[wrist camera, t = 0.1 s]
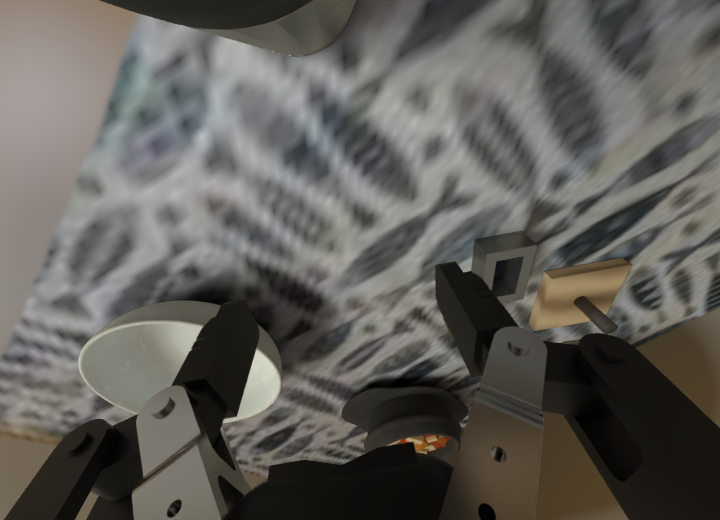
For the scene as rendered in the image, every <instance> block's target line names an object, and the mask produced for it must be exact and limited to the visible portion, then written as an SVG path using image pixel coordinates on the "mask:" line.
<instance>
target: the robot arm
mask: <svg viewBox="0 0 720 520" xmlns="http://www.w3.org/2000/svg"><path fill="white" fill-rule="evenodd" d="M100 1H103V2H106V3H109V4H112V5H115V6H118V7H121V8H124V9H126V10H129V11H133V12H136V13H139V14H143V15H146V16H150V17H153V18H157V19H160V20H164V21H167V22H171V23H174V24H179V25H184V26H187V27H190V28H193V29H197V30H200V31H204V32H207V33H211V34H214V35H218V36H221V37H224V38H228V39H232V40H236V41H239V42H242V43H246V44H249V45H252V46H256V47H259V48H262V49H266V50H269V51H272V52H273V53H277V54H280V55H285V56H287V55H288V56H297V57H298V56H308V55H310V54H313V53H316V52H319V51H321V50H322V49H324V48H325V47H327V46H328V45H330V44H331V43H332V42H333V41H334V40H335V39H336V38H337V37H338V36H339V34H340V33H341V32H342V30H343V28H344V27H345V25H346V23H347V22H348V20H349V18H350V15H351V13H352V10H353V8H354V6H355V3H356V1H357V0H100ZM435 279H436V299H437V303H438V306H439V309H440V311H441V313H442V315H443V317H444V319H445V322H446V324H447V326H448V328H449V330H450V332H451V334H452V336H453V339H454V341H455V343H456V345H457V347H458V349H459V351H460V353H461V356H462V358H463V360H464V362H465V364H466V366H467V368H468V370H469V373H470V375H471V377H475V376H482V379H481V383H480V386H479V389H477V391H476V394H475V397H474V400H473V404H472V407H471V411H470V414H469V417H468V421H467V424H466V428H465V431H464V435H463V438H462V441H461V445H460V448H459V452H458V455H457V459H456V462H455V465H454V467H453V466H451V465H450V464H448V463H447V462H445V461H443V460H441V459H439V458H437V457H434V456H432V455H428V454H425V453H419V452H416V450H415V446H414V441H413V442H407V443H401V444H395V445H389V446H383V447H378V448H376V449H374V450H372V451H370V452H368V453H366V454H364V455H362V456H360V457H358V458H355V459H353V460H351V461H349V462H347V463H345V464H342V465H336V464H330V463H323V462H316V461H310V460H301V461H295V462H289V463H283V464H277V465H271V466H270V469H269V475H268V479H266V480H265V481H263V482H261V483H260V484H258V485H257V486H255V487H254V488H253V489H251V487H250V486H249V484H248V483H247V481H246V480H245V478H244V476H243V475H242V472H241V470H240V468H239V465H238V463H237V461H236V458H235V456H234V454H233V451H232V449H231V447H230V444H229V442H228V440H227V437H226V435H225V433H224V431H223V429H222V428H221V426H222V423H223V420H224V419H227V418H232V417H237V414H238V411H239V408H240V404H241V401H242V397H243V394H244V390H245V387H246V383H247V380H248V376H249V373H250V369H251V366H252V362H253V359H254V355H255V352H256V348H257V345H258V342H259V336H260V333H259V327H258V324H257V322H256V321H255V319H254V317H253V315H252V313H251V311H250V309H249V308H248V306H247V304H246V302H245V301H244V300H237V301H232V302H226V303H223V304H222V305H221V307H220V309H219V311H218V313H217V315H216V317H212V318H211V319H210V320H209V321H208V322H207V323H206V324H205V325H204V326H203V327H202V329H201V331H200V333H199V334H198V336H197V338H196V341H195V342H194V344H193V346H192V348H191V351H189V353H188V355H187V357H186V359H185V361H184V363H183V364H182V366H181V368H180V370H179V372H178V374H177V376H176V377H175V379H174V381H173V383H172V385H171V386H170V387H167V388H165V389H163V390H161V391H159V392H158V393H157V394H155V395H154V396H153V397H151V398H150V399H149V400H148V401H147V402H146V403H145V405H144V406H143V407H142V409H141V410H140V412H139V414H137V415H135V416H133V417H131V418H129V419H127V420H124V421H122V422H120V423H118V424H116V425H113V426H112V425H110V424H109V423H108V422H106V421H105V420H103V419H95V420H91V421H89V422H86V423H84V424H83V425H81V426H79V427H78V428H76V429H75V430H73V431H72V432H71V433H69V434H68V435H67V436H66V437H65V438H64V439H63V440H62V441H61V442H60V443H59V444H58V445H57V447H56V448H55V449H54V450H53V452H52V453H51V455H50V456H49V457H48V459H47V460H46V462H45V463H44V464H43V466H42V467H41V469H40V470H39V471H38V473H37V474H36V476H35V477H34V478H33V480H32V481H31V483H30V484H29V485H28V487H27V488H26V490H25V491H24V492H23V494H22V495H21V497H20V498H19V499H18V501H17V502H16V504H15V505H14V506H13V508H12V509H11V511H10V512H9V513H8V515H7V516H6V518H5V519H4V520H75V518H76V516H77V514H78V513H79V511H80V509H81V507H82V505H83V504H84V502H85V500H86V498H87V496H88V494H89V493H90V491H91V492H93V493H95V494H97V495H99V497H98V498H97V500H96V502H95V504H94V506H93V508H92V510H91V512H90V514H89V516H88V518H87V519H86V520H535V512H536V502H537V491H538V480H539V470H540V459H541V449H542V438H543V426H544V417H543V415H541V411H545V412H551V413H557V414H563V415H564V417H565V418H566V420H567V422H568V423H569V425H570V426H571V428H572V429H573V431H574V433H575V434H576V436H577V438H578V439H579V441H580V442H581V444H582V445H583V447H584V449H585V450H586V451H587V453H588V455H589V457H590V458H591V460H592V461H593V463H594V465H595V466H596V468H597V469H598V471H599V473H600V474H601V476H602V477H603V479H604V481H605V482H606V484H607V485H608V487H609V489H610V490H611V492H612V493H613V495H614V497H615V498H616V500H617V501H618V503H619V505H620V506H621V508H622V509H623V511H624V513H625V514H626V516H627V517H628V519H629V520H720V428H719V427H718V426H717V425H716V424H715V423H714V422H713V421H712V420H711V419H710V418H708V417H707V416H706V415H705V414H704V413H703V412H702V411H701V410H700V409H699V408H698V407H697V406H696V405H695V404H694V403H693V402H692V401H691V400H689V398H688V397H686V396H685V395H684V394H683V393H682V392H681V391H680V390H679V389H678V388H677V387H676V386H675V385H674V384H673V383H672V382H671V381H670V380H669V379H668V378H667V377H665V376H664V375H663V374H662V373H661V372H660V371H659V370H658V369H657V368H656V367H655V366H654V365H653V364H652V363H651V362H650V361H649V360H648V359H646V357H644V356H643V355H642V354H641V353H640V352H639V351H638V350H637V349H636V348H635V347H633V346H632V345H631V344H629V343H627V342H626V341H624V340H622V339H619V338H617V337H614V336H611V335H607V334H600V333H593V334H588V335H585V336H584V337H582V338H581V339H580V341H579V344H578V345H575V344H565V343H554V342H547V341H543V340H542V339H541V338H540V337H539V336H538V335H536V334H535V333H533V332H531V331H529V330H527V329H524V328H521V327H519V326H518V325H517V324H516V322H515V321H514V320H513V318H512V317H511V316H510V314H509V313H508V312H507V310H506V309H505V308H504V306H503V305H502V304H501V303H500V301H499V300H498V299H497V297H495V295H494V293H493V292H492V291H491V289H489V287H488V285H487V284H486V283H485V282H484V280H483V279H482V278H481V277H479V276H478V275H476V274H474V273H473V272H471V271H469V272H464V273H463V271H462V270H461V268H460V267H459V266H458V264H457V263H456V262H455V261H454V262H449V263H443V264H438V265H436V268H435Z"/></svg>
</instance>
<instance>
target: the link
mask: <svg viewBox="0 0 720 520" xmlns="http://www.w3.org/2000/svg"><path fill="white" fill-rule="evenodd" d="M536 249H537V244H536V243H535V242H533V241H532V240H531V239H530V238H529V237H528V236H526V235H525V234H524V233H523V232H522V231H520V232H514V233H509V234H503V235H498V236H492V237H487V238H481V239H476V240H475V241H474V250H473V260H472V270H471V272H473V273H474V274H476V275H478V276H479V277H481V278H482V279H483V280H484V282H485V283H486V284H487V285H488V287H489V289H491V291H492V292H493V293H494V295H495V297H497V299H498V300H499V301H500V303H504V302H510V301H515V300H521V299H523V297H524V294H525V290H526V286H527V283H528V279H529V275H530V271H531V268H532V264H533V260H534V256H535V253H536ZM500 260H506V261H505V266H504V271H503V277H502V278H500V279H494V273H495V267H496V261H500ZM493 279H494V280H493Z"/></svg>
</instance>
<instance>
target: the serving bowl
mask: <svg viewBox="0 0 720 520" xmlns="http://www.w3.org/2000/svg"><path fill="white" fill-rule="evenodd" d="M220 307H221V306H220V305H217V304H212V303H207V302H200V301H168V302H161V303H155V304H151V305H147V306H144V307H141V308H138V309H135V310H133V311H131V312H128V313H126V314H124V315H122V316H120V317H119V318H117V319H115V320H114V321H112V322H111V323H109V324H108V325H107V326H105V327H104V328H103V329H102V330H100V331H99V332H98V333H97V334H96V335H94V336H93V337H92V338H91V339H90V340H89V341H88V342H87V343H86V344H85V346H84V347H83V348H82V351H81V353H80V356H79V370H80V373H81V375H82V377H83V379H84V380H85V382H86V383H87V384H88V386H89V387H90V388H91V389H92V390H93V391H94V392H95V393H97V394H98V395H99V396H100V397H102V398H103V399H105V400H106V401H108V402H110V403H112V404H114V405H116V406H118V407H120V408H122V409H124V410H127V411H129V412H132V413H135V414H139V412H140V410H141V409H142V407H143V406H144V405H145V403H146V402H147V401H148V400H149V399H150V398H151V397H153V396H154V395H155V394H157V393H158V392H159V391H161V390H163V389H165V388H167V387H170V386H171V385H172V383H173V381H174V379H175V377H176V376H177V374H178V372H179V370H180V368H181V366H182V364H183V363H184V361H185V359H186V357H187V355H188V353H189V351H191V348H192V346H193V344H194V342H195V341H196V338H197V336H198V334H199V333H200V331H201V329H202V327H203V326H204V325H205V324H206V323H207V322H208V321H209V320H210V319H211V318H212V317H216V315H217V313H218V311H219V309H220ZM258 327H259V333H260V336H259V342H258V345H257V348H256V352H255V355H254V359H253V362H252V366H251V369H250V373H249V376H248V380H247V383H246V387H245V390H244V394H243V397H242V401H241V404H240V408H239V411H238V414H237V417H232V418H227V419H224V420H223V423H227V422H232V421H237V420H241V419H244V418H248V417H250V416H253V415H255V414H258V413H260V412H261V411H263V410H265V409H266V408H268V407H269V406H270V405H271V404H272V403H273V402H274V401H275V400H276V399H277V397H278V396H279V394H280V391H281V387H282V364H281V358H280V355H279V352H278V349H277V347H276V345H275V343H274V342H273V340H272V339H271V337H270V336H269V335H268V333H267V332H266V331H265V330H264V329H263V328H262V327H261V326H260V325H258Z"/></svg>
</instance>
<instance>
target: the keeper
mask: <svg viewBox="0 0 720 520" xmlns="http://www.w3.org/2000/svg"><path fill="white" fill-rule="evenodd" d="M631 266H632V264H631V263H629V262H627V261H626V260H624V259H623V258H618V259H613V260H607V261H601V262H596V263H590V264H585V265H579V266H573V267H568V268H562V269H557V270H551V271H546V272H544V274H543V278H542V281H541V284H540V287H539V291H538V294H537V297H536V301H535V304H534V307H533V310H532V314H531V317H530V320H529V324H530V325H531V327H532V328H533V329H534V331H537V330H542V329H548V328H554V327H560V326H565V325H571V324H577V323H583V322H588V321H592V322H593V323H594V324H595V325H596V326H597V327H598V328H599V329H600V330H601V331H602V332H603V333H605V334H609V333H612V332H614V331H615V330H616V329H617V328H618V326H617V325H616V324H615V323H614V322H613V321H612V320H610V319H609V318H608V317H607V316H606V313H607V311H608V309H609V307H610V305H611V304H612V302H613V300H614V298H615V296H616V294H617V292H618V291H619V289H620V287H621V285H622V283H623V281H624V279H625V278H626V276H627V274H628V272H629V270H630V268H631Z"/></svg>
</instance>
